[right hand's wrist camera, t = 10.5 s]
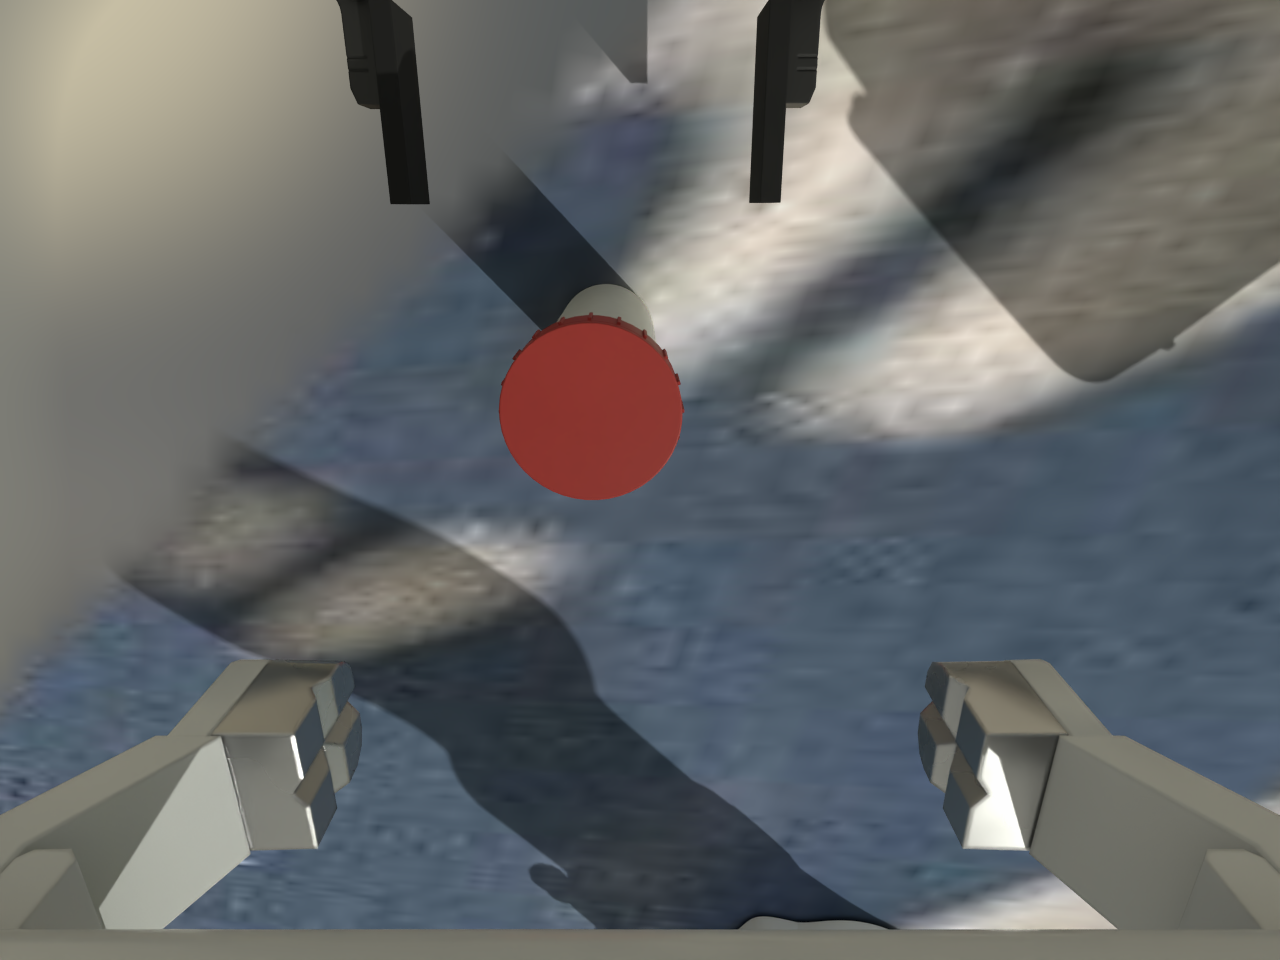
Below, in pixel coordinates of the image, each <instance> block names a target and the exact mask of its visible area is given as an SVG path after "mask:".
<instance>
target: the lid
mask: <svg viewBox="0 0 1280 960" xmlns="http://www.w3.org/2000/svg"><path fill="white" fill-rule="evenodd" d="M513 360H515V361H514V362H513V363H512V365H511V367H510V369H509V371H508V372H507V374H506V377H505V379H504V380H503V381H502V384H501V385H502V390H501V394H500V402H499V417H500V424H501V430H502V433H503V436H504V439H505V442H506V444H507V446H508V449H509V451H510V453H511V454H512V456H513V457H514V459H515V460H516V462H517V463H518V464H519V466H520V467H521V468H522V469H523V470H524V471H525V472H526V473H527V474H528V475H529V476H530V477H531V478H532V479H534V480H535V481H536V482H538V483H539V484H541V485H542V486H544V487H546V488H548V489H549V490H551V491H553V492H556V493H558V494H561V495H564V496H567V497H571V498H576V499H584V500H601V499H609V498H613V497H618V496H621V495H624V494H626V493H629V492H631V491H633V490H635V489H637V488H639V487H641V486H642V485H644V484H645V483H647V482H648V481H649V480H651V479H652V478H653V477H654V476H655V475H656V474H657V473H658V472H659V471H660V470H661V469H662V468H663V466H664V465H665V464H666V463H667V461H668V459H669V458H670V456H671V455H672V453H673V451H674V449H675V446H676V444H677V441H678V440H679V438H680V436H679V435H680V431H681V425H682V413H684V407H683V403H682V400H681V395H680V391H679V387H678V385H680V380H679V377H678V374H675V373H674V370H673V368H672V365H671V363H670V362H669V360H668V356H667V352H666V350H665V349H663V350H662V349H661V348H660V346H659V345H658V344H657V343H656V342H655V341H654V340H653V339H652V338H651V337H650V336H648V335H647V331H646V330H645V329H644V330H643V331H642V330H640V329H639V328H637V327H635V326H634V325H632V324H629V323H627V322H625V321H622V320H621V317H619V316H618V318H617V319H616V318H612V317H608V316H601V315H593V312H590V313H589V315H583V316H575V317H571V318H567V319H565V317H561V319H560V320H559V322H556V323H554V324H552V325H550V326H549V327H547V328H545V329H543V330H542V331H540V330H537V331H536V333H535V334H534V335H533V337H532V339H531V340H530V341H529V342H528V344H527V345H526V346H525V347H524V348H523V350H522V351H521V350H520V349H519V351H518V352H517V353H516V354H515V356H514V357H513Z"/></svg>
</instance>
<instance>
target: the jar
mask: <svg viewBox="0 0 1280 960" xmlns="http://www.w3.org/2000/svg"><path fill="white" fill-rule="evenodd" d="M590 312H593V315H601V316H608V317H612V318H616V319H617V318H618V316H619V317H621V320H622V321H625V322H627V323H629V324H632V325H634V326H635V327H637V328H639V329H640V330H642V331H643V330H644V329H645V330H646V331H647V335H648V336H650V337H651V338H652V339H653V340H654V341H655V342H656V339H655V333H654V328H653V323H652V319H651V315H650V313H649V311H648V309H647V307H646V305H645V304H644V303H643V301H642V300H641V299H640V298H639V297H638V296H637V295H636V294H634V293H633V292H631V291H630V290H628V289H626V288H624V287H621V286H618V285H613V284H600V285H595V286H591V287H589V288H586V289H584V290H583V291H581V292H580V293H578V294H577V295H576V296H575V297H574V298H573V299H572V300H571V301H570V302H569V304H568V305H567V307H566V308H565V310H564V311H563V313H562V315H561V316H560V318H559V319H558V321H557V322H559V320H560V319H561V317H565V319H567V318H571V317H575V316H583V315H589V313H590Z"/></svg>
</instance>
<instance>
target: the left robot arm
mask: <svg viewBox="0 0 1280 960" xmlns="http://www.w3.org/2000/svg"><path fill="white" fill-rule="evenodd" d="M824 1H825V0H768V2H767V3H766V5H765V6H764V8H763V9H762V11H761V12H760V14H759V15H758V17H757V38H756V61H755V84H754V107H753V129H752V152H751V175H750V198H749V203H780V201H781V184H782V166H783V149H784V131H785V114H786V108H801V107H803V106H805V105H807V104H808V103H809V102H810V100H811V97H812V95H813V93H814V90H815V88H816V74H817V60H818V58H817V56H818V45H819V31H820V16H821V9H822V5H823V3H824ZM337 2H338V4H339V6H340V9H341V14H342V23H343V31H344V39H345V47H346V55H347V63H348V69H349V80H350V88H351V90H352V92H353V95H354V97H355V99H356V101H357V103H358V104H359V105H362V106H365V107H367V108H370V109H380V113H381V122H382V131H383V140H384V149H385V158H386V167H387V176H388V185H389V194H390V203H391V204H430V202H429V192H428V181H427V170H426V160H425V150H424V139H423V128H422V118H421V107H420V97H419V86H418V75H417V65H416V54H415V43H414V33H413V22H412V17H411V16H409V15H408V14H407V13H406V12H405V11H404V10H403V9H401V8H400V7H399V6H398V5H397V4H396V3H394V2H393V1H392V0H337Z"/></svg>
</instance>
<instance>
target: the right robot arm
mask: <svg viewBox="0 0 1280 960" xmlns="http://www.w3.org/2000/svg"><path fill="white" fill-rule="evenodd" d="M354 688H355V683H354V679H353V674H352V669H351V666H349V665H348V664H347V663H346V662H345V661H312V660H238V661H235V662H232V663H230V664H229V665H228V667H227V668H226V669H225V670H224V671H223V672H222V674H221V675H220V676H219V677H218V678H217V679H216V680H215V682H214V683H213V684H212V685H211V686H210V687H209V688H208V690H207V691H206V692H205V693H204V694H203V695H202V697H201V698H200V699H199V700H198V701H197V702H196V703H195V705H194V706H193V707H192V708H191V709H190V710H189V711H188V713H187V714H186V715H185V716H184V717H183V718H182V720H181V721H180V722H179V723H178V724H177V725H176V726H175V728H174V729H173V730H172V731H171V732H170V733H169V735H168V736H154V737H152V738H150V739H149V740H147V741H145V742H143V743H141V744H139V745H137V746H135V747H133V748H131V749H129V750H127V751H125V752H123V753H121V754H119V755H117V756H115V757H113V758H111V759H109V760H107V761H105V762H104V763H102V764H100V765H98V766H96V767H94V768H92V769H90V770H88V771H86V772H84V773H82V774H80V775H78V776H76V777H74V778H72V779H70V780H68V781H66V782H64V783H62V784H60V785H58V786H57V787H55V788H53V789H51V790H49V791H47V792H45V793H43V794H41V795H39V796H37V797H35V798H33V799H31V800H29V801H27V802H25V803H23V804H21V805H19V806H17V807H15V808H13V809H12V810H10V811H8V812H6V813H4V814H2V815H0V960H1280V815H1278V814H1276V813H1274V812H1272V811H1270V810H1268V809H1266V808H1264V807H1262V806H1260V805H1258V804H1256V803H1254V802H1252V801H1250V800H1249V799H1247V798H1245V797H1243V796H1241V795H1239V794H1237V793H1235V792H1233V791H1231V790H1229V789H1227V788H1225V787H1223V786H1221V785H1219V784H1217V783H1215V782H1213V781H1211V780H1210V779H1208V778H1206V777H1204V776H1202V775H1200V774H1198V773H1196V772H1194V771H1192V770H1190V769H1188V768H1186V767H1184V766H1182V765H1180V764H1178V763H1176V762H1174V761H1172V760H1170V759H1169V758H1167V757H1165V756H1163V755H1161V754H1159V753H1157V752H1155V751H1153V750H1151V749H1149V748H1147V747H1145V746H1143V745H1141V744H1139V743H1137V742H1135V741H1133V740H1131V739H1129V738H1128V737H1126V736H1112V735H1111V733H1110V732H1109V731H1108V730H1107V729H1106V728H1105V727H1104V725H1103V724H1102V723H1101V722H1100V721H1099V720H1098V718H1097V717H1096V716H1095V715H1094V714H1093V713H1092V712H1091V710H1090V709H1089V708H1088V707H1087V706H1086V705H1085V704H1084V702H1083V701H1082V700H1081V699H1080V698H1079V697H1078V695H1077V694H1076V693H1075V692H1074V691H1073V690H1072V689H1071V687H1070V686H1069V685H1068V684H1067V683H1066V682H1065V681H1064V679H1063V678H1062V677H1061V676H1060V675H1059V674H1058V672H1057V671H1056V670H1055V669H1054V668H1053V667H1052V666H1051V664H1049V663H1048V662H1046V661H1044V660H1041V659H1029V660H1005V661H977V662H932V664H931V666H930V668H929V670H928V672H927V677H926V683H925V688H926V690H927V692H928V693H929V695H930V697H931V699H932V702H931V703H930V704H929V705H928V706H927V707H926V708H925V709H924V710H923V711H922V712H921V713H920V720H919V727H918V742H919V753H920V757H921V761H922V764H923V768H924V770H925V772H926V774H927V776H928V779H929V781H930V783H932V784H933V785H934V786H936V787H937V788H939V789H940V790H941V791H943V792H944V793H945V799H944V804H943V810H944V812H945V814H946V816H947V818H948V820H949V822H950V824H951V826H952V828H953V830H954V832H955V834H956V836H957V838H958V840H959V842H960V844H961V846H962V848H963V849H994V850H1030V853H1029V854H1030V855H1032V856H1033V857H1034V858H1035V859H1036V860H1037V861H1039V862H1040V863H1041V864H1042V865H1043V866H1044V867H1046V868H1047V869H1048V870H1049V871H1050V872H1051V873H1053V874H1054V875H1055V876H1056V877H1057V878H1059V879H1060V880H1061V881H1062V882H1063V883H1064V884H1066V885H1067V886H1068V887H1069V888H1070V889H1071V890H1073V891H1074V892H1075V893H1076V894H1077V895H1078V896H1080V897H1081V898H1082V899H1083V900H1084V901H1086V902H1087V903H1088V904H1089V905H1090V906H1091V907H1093V908H1094V909H1095V910H1096V911H1097V912H1098V913H1100V914H1101V915H1102V916H1103V917H1104V918H1105V919H1107V920H1108V921H1109V922H1110V923H1111V924H1113V925H1114V926H1115V927H1116V928H1117V929H1098V930H889V929H886V928H883V927H880V926H877V925H873V924H869V923H864V922H858V921H846V920H832V921H819V922H805V923H803V922H794V921H790V920H785V919H780V918H775V917H767V916H761V917H755V918H752V919H750V920H749V921H747V922H746V923H745V924H744V925H743V926H742V927H740V928H739V929H317V930H231V929H163V928H164V927H165V926H166V925H168V924H169V923H170V922H171V921H172V920H174V919H175V918H176V917H177V916H178V915H179V914H181V913H182V912H183V911H184V910H185V909H186V908H188V907H189V906H190V905H191V904H192V903H194V902H195V901H196V900H197V899H198V898H199V897H201V896H202V895H203V894H204V893H205V892H206V891H208V890H209V889H210V888H211V887H212V886H214V885H215V884H216V883H217V882H218V881H219V880H221V879H222V878H223V877H224V876H225V875H226V874H228V873H229V872H230V871H231V870H232V869H234V868H235V867H236V866H237V865H238V864H239V863H241V862H242V861H243V860H244V859H245V858H246V857H248V856H249V855H250V850H284V849H317V848H318V846H319V844H320V842H321V840H322V838H323V836H324V834H325V832H326V830H327V828H328V826H329V824H330V822H331V820H332V818H333V816H334V814H335V812H336V809H337V804H336V799H335V793H336V792H337V791H339V790H340V789H341V788H343V787H344V786H345V785H347V784H348V783H350V781H351V778H352V776H353V774H354V772H355V770H356V768H357V765H358V760H359V755H360V751H361V746H362V725H361V719H360V713H359V712H358V711H357V710H356V709H355V708H354V707H353V706H352V705H351V704H350V703H349V702H348V699H349V697H350V695H351V693H352V692H353V690H354Z"/></svg>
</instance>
